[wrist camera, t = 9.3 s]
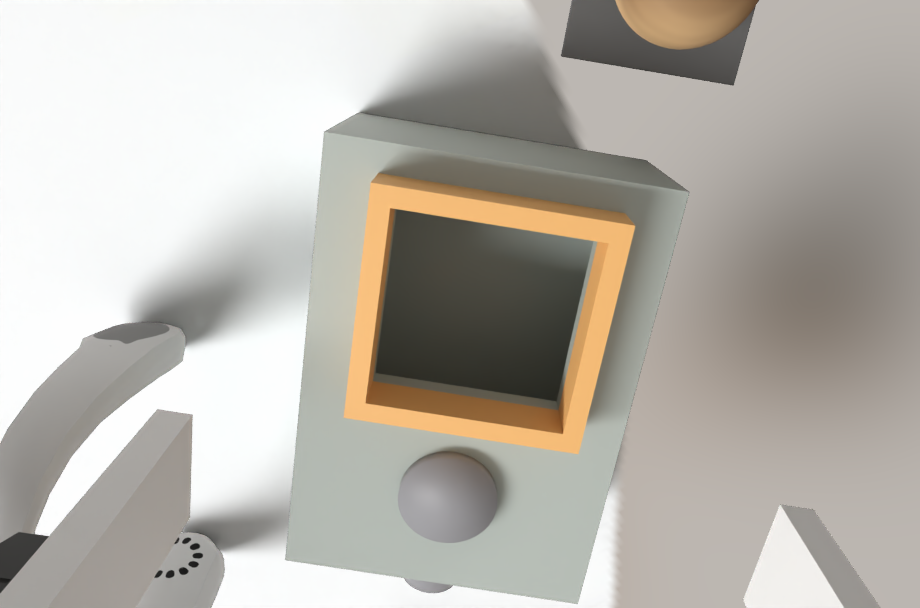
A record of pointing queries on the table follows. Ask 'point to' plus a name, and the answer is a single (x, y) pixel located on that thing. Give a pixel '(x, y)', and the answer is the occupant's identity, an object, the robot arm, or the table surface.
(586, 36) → the mat
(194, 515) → the table surface
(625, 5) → the bead
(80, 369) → the headphones
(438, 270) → the grey boxy piece
